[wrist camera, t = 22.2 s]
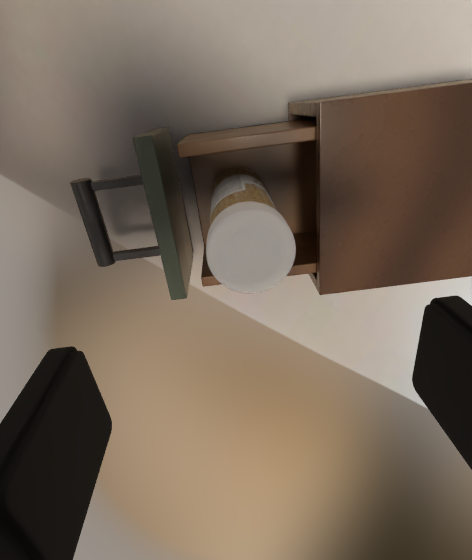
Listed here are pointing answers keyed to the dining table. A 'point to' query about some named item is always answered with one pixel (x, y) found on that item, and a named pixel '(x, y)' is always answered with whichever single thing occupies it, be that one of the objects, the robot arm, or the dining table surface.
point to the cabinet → (392, 186)
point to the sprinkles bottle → (247, 234)
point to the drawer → (205, 169)
